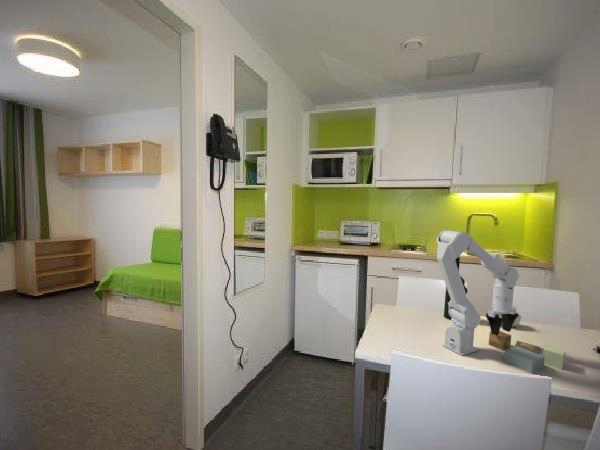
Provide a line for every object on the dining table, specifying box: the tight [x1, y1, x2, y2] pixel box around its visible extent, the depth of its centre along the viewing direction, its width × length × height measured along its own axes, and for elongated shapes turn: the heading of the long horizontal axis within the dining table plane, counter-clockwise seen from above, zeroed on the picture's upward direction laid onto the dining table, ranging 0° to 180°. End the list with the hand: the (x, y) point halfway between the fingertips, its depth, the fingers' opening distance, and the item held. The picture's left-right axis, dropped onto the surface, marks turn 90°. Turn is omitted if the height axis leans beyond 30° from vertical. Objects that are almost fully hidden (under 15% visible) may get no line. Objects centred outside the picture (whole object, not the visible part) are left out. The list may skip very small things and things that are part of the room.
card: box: [514, 340, 541, 355], centre depth 110 cm, size 7×7×1 cm
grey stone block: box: [498, 311, 522, 328], centre depth 130 cm, size 8×9×10 cm
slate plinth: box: [503, 346, 545, 375], centre depth 98 cm, size 8×8×4 cm
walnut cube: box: [488, 330, 512, 351], centre depth 110 cm, size 5×5×5 cm
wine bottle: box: [443, 255, 469, 321], centre depth 136 cm, size 8×10×30 cm
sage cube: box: [542, 344, 566, 370], centre depth 99 cm, size 5×5×5 cm
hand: (500, 332), depth 110 cm, fingers open, 7 cm apart
